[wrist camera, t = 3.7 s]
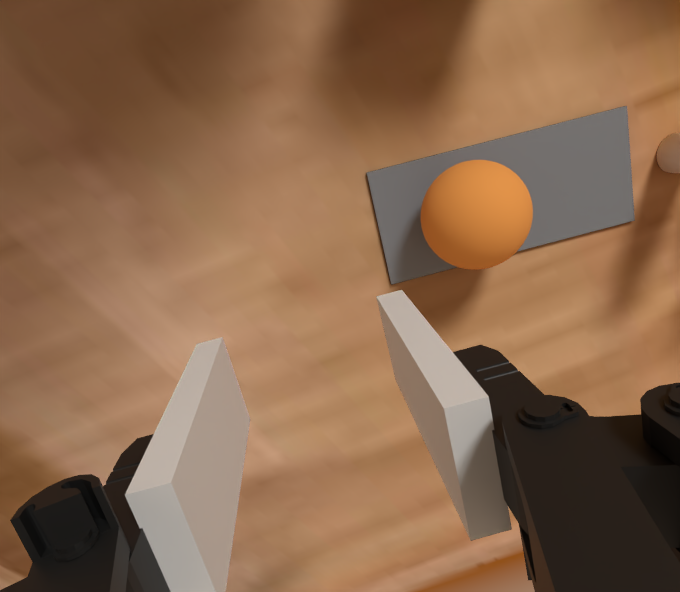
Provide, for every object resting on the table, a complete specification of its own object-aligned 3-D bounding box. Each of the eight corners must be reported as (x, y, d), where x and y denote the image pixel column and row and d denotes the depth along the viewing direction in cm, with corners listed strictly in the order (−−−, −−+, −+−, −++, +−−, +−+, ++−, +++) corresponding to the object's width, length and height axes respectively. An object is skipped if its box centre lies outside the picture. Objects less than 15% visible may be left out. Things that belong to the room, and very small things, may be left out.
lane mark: (390, 283, 32) (391, 284, 31) (366, 172, 30) (366, 172, 29) (632, 220, 32) (634, 220, 32) (624, 106, 30) (626, 105, 30)
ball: (419, 268, 32) (449, 294, 26) (400, 172, 30) (427, 177, 24) (511, 244, 32) (560, 264, 26) (497, 147, 30) (547, 147, 24)
